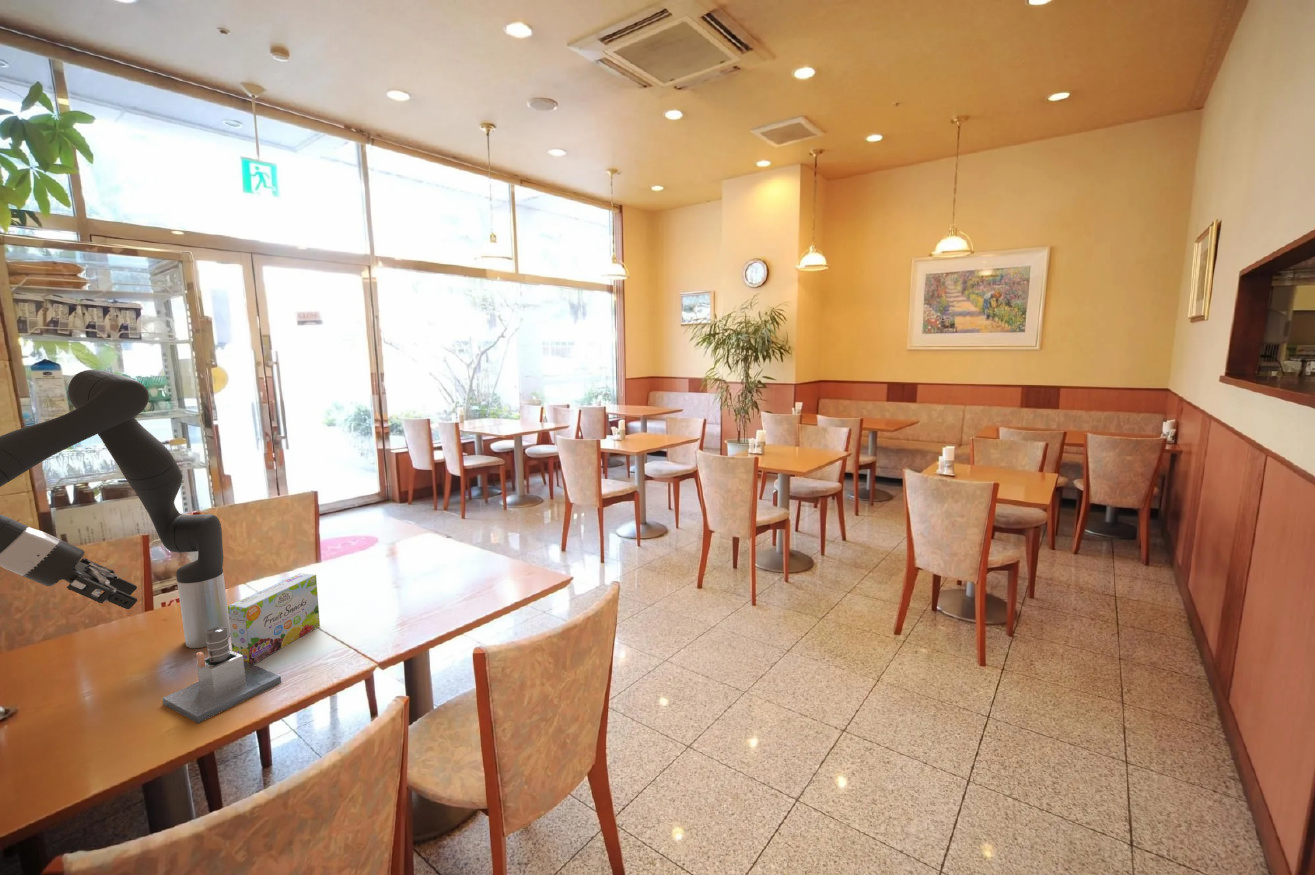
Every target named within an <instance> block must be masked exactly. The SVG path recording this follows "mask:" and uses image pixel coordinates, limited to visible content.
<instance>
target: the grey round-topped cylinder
mask: <svg viewBox="0 0 1315 875" xmlns="http://www.w3.org/2000/svg"><path fill="white" fill-rule="evenodd" d="M206 642H207V647H206V650H207V656H208V657H209V664H210V665H212V666H216V665H218V664H220V663H223V662H225V661H227V660H230V659H231V658H230V650H231V649H230V642H229V637H228V634H227V628H226V627H216V628H213V629H210V630H208V631H207V632H206Z"/></svg>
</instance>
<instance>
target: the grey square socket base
mask: <svg viewBox="0 0 1315 875" xmlns="http://www.w3.org/2000/svg"><path fill="white" fill-rule="evenodd" d="M195 655H196V660H197V662H195V663H196V671H197V678H198V681H197V682H195V683H193V684H190V685H188V686H185V687H184V688H181V689H179V690H177V691H175V692H172V693H170V694H168V695H165V696H163V697H162V698H161V699H162V704H163V705H164V706H165V707H167V708H169V709H171V710H173V711H175V712H176V713H178V714H180V715H182V716H184V717H185V718H187V719H189V720H191V721H193V722H194V723H196V722H197V723H196V724H200V723H202V722H204V721H206V720H208V719H210V718H212V717H214V716H216V715H219V714H220V713H222V712H224V711H226V710H228V709H230V708H233V707H235V706H236V705H239V704H241V703H242V702H245V701H247V700H249V699H251V698H253V697H254V695H255V696H256V694H257V695H258V694H260V693H262V692H264V691H267V690H269V689H272V688H273V687H275V686H277V685H279V684H281V683H282V678H281V677H282V676H281V675H279V674H277V673H274V672H272V671H269V670H267V669H266V668H265V669H264V668H263V667H261V666H258V665H256V664H254V665H253V664H251V663H248V662H246V661H245V662H244V661H243V655H240V654H238V653H236V652H233V651H232V649H230V658H231V659H230V660H227V661H225V662H223V663H220V664H218V665H216V666H212V665H210V664H209V656H208V657H205V653H204V652H202V651H199V652H197V653H196V654H195ZM248 698H249V699H248ZM246 699H247V700H246ZM244 700H245V701H244ZM238 703H239V704H238ZM221 711H222V712H221ZM219 712H220V713H219ZM213 715H214V716H213ZM211 716H212V717H211ZM209 717H210V718H209ZM205 719H206V720H205ZM203 720H204V721H203ZM201 721H202V722H201Z"/></svg>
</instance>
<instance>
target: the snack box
mask: <svg viewBox="0 0 1315 875" xmlns="http://www.w3.org/2000/svg"><path fill="white" fill-rule="evenodd" d="M317 583H318V582H317V574H314V573H313V574H312V573H301V572H300V573H297V574H295V575H293V576H291V577H289V578H287V579H284V580H282V581H279V582H277V583H275V584H274V585H271V586H269V587H267V588H265V589H262V590H260V591H258V592H255V593H253V594H251V595H249V596H246V597H244V598H243V599H241V600H238V601H236V602H233V603H231V604H229V605H227V606H228V616H229V626H230V644H231V651H233V652H236V653H238V654H240V655H243V661H244V662H245V661H246V662H248V663H251V664H253V665H256V664H257V663H260V662H261V661H263V660H264V659H266V658H268V657H269V656H271V655H272V654H274V653H277V652H278V651H280V650H282V649H283V648H284V647H286V646H288V645H290V644H292V643H294V642H295V641H297V640H299V639H300V638H302V637H304V636H306V635H307V634H309V633H311V632H312V631H313V630H316V629H318V628H319V627H320V626H321V621H320V610H319V597H318V596H319V594H318V584H317ZM318 626H319V627H318ZM315 628H316V629H315ZM311 630H312V631H311ZM310 631H311V632H310Z"/></svg>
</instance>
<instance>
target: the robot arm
mask: <svg viewBox="0 0 1315 875" xmlns="http://www.w3.org/2000/svg"><path fill="white" fill-rule="evenodd" d="M67 392H68V397H69V400H70V402H71V404H72V405H73V406H74V409H73V410H72V411H70V412H67V413H65V414H63V415H60V416H57V417H55V418H52V419H49V420H45V421H43V422H39V423H36V424H33V425H29V426H26V427H22V428H19V429H15V430H12V431H10V432H8V433H5V434H2V435H0V488H1V487H3V486H4V485H6V484H7V483H10V482H11V481H13V480H14V479H16V478H18V477H19V476H21V475H23V474H24V473H26V472H27V471H28V470H31V469H32V468H34V467H35V466H38V465H39V464H41V463H42V462H44V461H46V460H48V459H49V458H51V457H53V456H54V455H57V454H58V453H60V452H63V451H64V450H66V449H68V448H70V447H73V446H74V445H77V444H78V443H81V442H83V441H85V440H87V439H89V438H93V437H94V436H96V435H98V437H99V438H100V440H101V442H102V443H103V444H104V446H105V447H106V450H107V452H108V453H109V454H110V455H111V457H112V459H113V461H114V462H115V464H116V465H117V466H118V468H119V469H120V472H121V473H122V475H123V477H124V478H125V480H126V481H127V483H128V484H129V485H130V487H131V489H132V490H133V492H134V493H135V494H136V495H137V497H138V500H140V502H141V503H142V505H143V507H144V509H145V511H146V512H147V514H148V516H149V518H150V520H151V522H152V524H153V526H154V528H155V531H156V533H157V535H158V537H159V540H160V541H161V543H162V544H163V546H164V548H166V550H168V551H170V552H172V553H181V554H182V553H194V552H197V559H196V560H194V561H191V562H188V563H186V564H184V565H182V566H180V567H179V568H177V570H176V572H175V576H176V584H177V590H178V599H179V603H180V604H179V605H180V611H181V612H180V614H181V619H182V626H183V635H184V642H185V646H186V648H189V649H199V648H207V642H206V632H207V631H208V630H210V629H213V628H216V627H226V628H227V634H228V638H230V637H231V635H230V626H229V616H228V606H229V605H228V600H227V591H226V583H225V577H224V568H223V565H224V550H223V549H224V548H223V530H222V524H221V521H220V519H219V517H218V516H217V515H215V514H213V513H204V514H203V513H202V514H201V513H200V514H188V515H186V514H185V515H183V514H181V513H180V512H179V510H178V509H177V507H176V504H175V500H176V497H177V495H178V493H179V491H180V488H181V486H182V482H183V473H182V471H181V469H180V467H179V465H178V463H177V461H176V459H175V458H174V456H173V455H172V453H171V452H170V450H169V449H168V448H167V447H166V446H165V445H164V444H163V443H162V442H161V441H160V440H159V439H157V437H155V436H154V435H153V434H152V433H151V432H149V430H148V429H147V428H145V427H144V426H143V425H142V424H141V423H140V422H139V421H138V420H137V419H136V417H137V416H139V415H140V414H142V412H143V411H144V410H145V409H146V407H147V405H148V403H149V400H150V399H149V397H150V396H149V391H148V389H147V388H146V386H145V385H144V384H143V383H142V382H140V381H138V380H135V379H134V378H131V377H128V376H124V375H121V374H118V373H113V372H111V371H110V372H109V371H105V370H102V369H101V370H100V369H87V370H83V371H80V372H78V373H77V374H75V375H74V376H73V377H72V378H71V379H70V382H69V383H68V388H67ZM84 556H85V551H84V549H82V548H80V547H77V546H76V545H73V544H71V543H69V542H67V541H65V540H62V539H60V538H58V537H56V536H53V535H51V534H50V533H47V532H44V531H42V530H41V529H40V530H39V529H36V528H33V527H31V526H28V525H26V524H24V523H21V522H19V521H17V520H15V519H14V518H11V517H8V516H6V515H4V514H1V513H0V567H1V568H3V569H4V570H7V571H10V572H12V573H14V574H17V575H19V576H22V577H24V578H26V579H28V580H30V581H33V582H36V583H38V584H40V585H43V586H46V587H53V586H54V585H56V584H57V583H58V582H59V581H61V580H63V581H66V582H67V583H69V584H68V585H67V586H66V589H68V590H69V591H72V592H74V593H77V594H79V595H81V596H83V597H86V598H88V599H91V600H92V601H93V602H94V601H95V602H96V603H99V604H103V603H104V602H105V603H107V602H109V603H111V604H114V605H115V606H118V607H120V608H124V609H126V610H130V609H131V608H132V607H133V606H134V605H136V603H137V602H138V598H137V597H135V596H133V595H132V594H133V593H134V592H135V591H136V590H137V588H138V587H137V584H134V583H131V582H129V581H127V580H125V579H123V578H121V577H119V575H118V574H116V571H115V570H113V569H110V568H108V567H106V566H103V565H101V564H99V563H97V562H95V561H92V560H90V559H88V558H87V557H86V558H84ZM101 592H102V593H101Z"/></svg>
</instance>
